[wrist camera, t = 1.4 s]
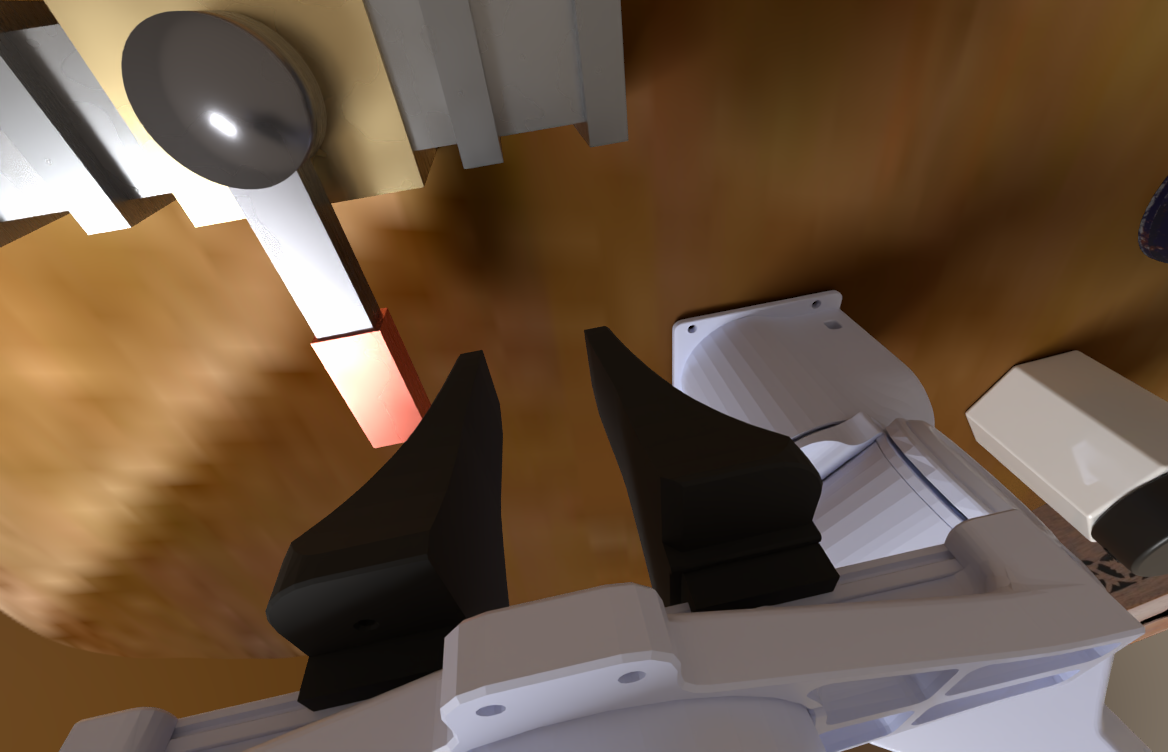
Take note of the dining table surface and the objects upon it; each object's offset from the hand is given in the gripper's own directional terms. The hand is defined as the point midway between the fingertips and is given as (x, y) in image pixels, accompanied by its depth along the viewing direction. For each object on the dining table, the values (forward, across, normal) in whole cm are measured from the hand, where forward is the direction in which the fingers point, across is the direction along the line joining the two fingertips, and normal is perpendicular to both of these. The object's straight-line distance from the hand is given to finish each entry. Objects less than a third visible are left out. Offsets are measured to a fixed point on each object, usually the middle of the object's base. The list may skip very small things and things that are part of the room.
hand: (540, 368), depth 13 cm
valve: (+10, +6, -7) cm, 14 cm away
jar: (+10, -34, +19) cm, 40 cm away
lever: (+5, +6, -2) cm, 8 cm away
